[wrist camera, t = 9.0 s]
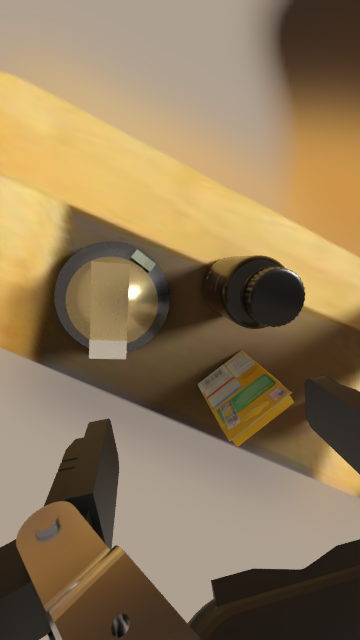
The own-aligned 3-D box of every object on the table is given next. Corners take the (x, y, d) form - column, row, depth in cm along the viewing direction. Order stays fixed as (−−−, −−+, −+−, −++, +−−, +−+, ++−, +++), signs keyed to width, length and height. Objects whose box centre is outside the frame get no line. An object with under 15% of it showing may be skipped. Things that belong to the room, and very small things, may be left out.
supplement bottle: (264, 274, 34) (333, 282, 22) (236, 322, 35) (289, 354, 23) (218, 245, 32) (267, 237, 21) (189, 296, 33) (221, 317, 21)
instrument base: (101, 218, 29) (97, 214, 26) (188, 286, 33) (193, 289, 30) (36, 308, 30) (26, 314, 27) (127, 366, 33) (127, 376, 30)
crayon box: (209, 400, 36) (244, 462, 25) (196, 384, 35) (226, 441, 24) (253, 365, 36) (307, 413, 25) (241, 349, 36) (292, 390, 24)
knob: (68, 252, 27) (49, 251, 21) (159, 260, 29) (167, 261, 23) (68, 340, 29) (51, 363, 23) (153, 342, 31) (160, 365, 24)
